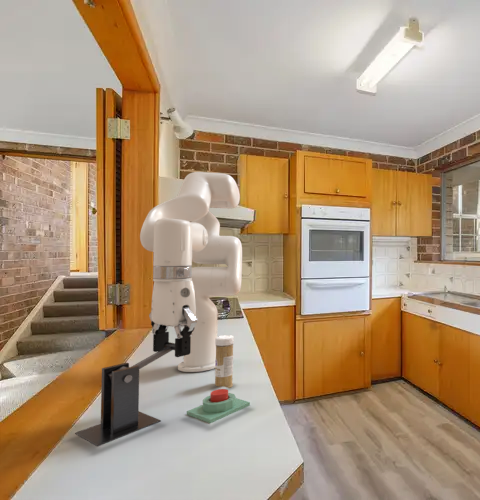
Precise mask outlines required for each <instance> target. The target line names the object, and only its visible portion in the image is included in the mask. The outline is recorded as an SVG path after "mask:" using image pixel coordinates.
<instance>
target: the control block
mask: <svg viewBox="0 0 480 500" xmlns="http://www.w3.org/2000/svg"><path fill="white" fill-rule="evenodd" d="M249 406H251V402H250V401H247V400H245V399H240V398H237V397H236V395H235V393H232V392H228V399H227V400H225V401H221V402H210V395H207V396H206V397H204V398H203V400H202V404H201V405H199V406H196V407H194V408H190V409H189V410H187V411H186V415H187V416H190V417H192V418H196V419H198V420H200V421H202V422H206V423H208V424H212V423H214V422H217V421H219V420H221V419H224V418H225V417H227V416H230V415H233V414H235V413H236V412H238V411H241V410H243V409H245V408H247V407H249Z"/></svg>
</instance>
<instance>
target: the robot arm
mask: <svg viewBox="0 0 480 500" xmlns="http://www.w3.org/2000/svg"><path fill="white" fill-rule="evenodd" d="M240 199H241V195H240V189H239V187H238V184H237V182H236V180H235V179H234V177H232V176H231V175H230V174H228V173H221V172H208V171H207V172H205V171H193V172H190V173H188V174H187V175H186V176H185V177H184V178H183V180H182V183H181V186H180V188H179V191H178V194H177V196H175V197H172V198H170V199H168V200H165V201H163V202H161V203H159V204H158V205H155V206H154V207H152V208H151V209H150V210H149V211H148V213H147V215H146V217H145V219H144V221H143V223H142V226H141V229H140V233H139V240H140V244H141V246H142V247H143V249H145V250H146V251H148V252H153V254H152V255H153V259H152V261H153V262H152V265H153V266H152V282H153V288H152V295H151V306H150V307H151V309H150V313H149V315H148V317H149V320H150V326H151V327H152V329H151V332H152V334H153V335H152V336H153V337H152V352H153V353H157V352H158V351H160V350H162V349H164V344H165V343H166V342H170V339H169V338H170V332H169V331H168V329H169V327H173V328H174V331H175V335H176V338H175V339H174V343H175V350H174V357H175V358H180V357H183V361H180V362H179V363H178V365H177V370H178V371H180V372H183V373H198V372H205V371H210V370H215V361H216V345H215V338H216V337H218V315H219V314H218V312H219V311H218V308H217V306H216V304H215V303H214V302H213V300H212V299H210V298H212V297H232V296H237V295H239V293H240V291H241V288H242V278H243V246H242V242H241V240H240V238H239V237H237V236H233V235H220V229H221V222H220V221H219V219H218V218H217V217H216V216H215V214H213V213H212V212H211V211H210V209H228V210H229V209H231V210H232V209H236V208H237V207H238V206H239V203H240ZM193 263H195V264H199V265H225V266H193Z"/></svg>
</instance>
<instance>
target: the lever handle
mask: <svg viewBox="0 0 480 500" xmlns="http://www.w3.org/2000/svg"><path fill="white" fill-rule="evenodd" d="M172 351H175V342H171V341H169V342H166V343H165V344H164V349H162V350H160V351H158V352H154V353H153V354H151V355H150V356H148V357H146V358H144V359H142V360H141V361H139V362H136V363H135V364H133V365H131V367H133V366H139V370H141V369H142V368H144V367H146V366H148V365H150V364H152V363H153V362H155V361H156V360H158V359H160V358H161V357H163V356H165V355H167V354H169V353H170V352H172ZM125 368H127V367H124V366H123V367H121V368H119V369H117V370H121V369H125ZM115 371H116V370H115ZM108 375H109V378H110V380H111V383H112V373H110V374H108Z"/></svg>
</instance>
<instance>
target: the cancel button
mask: <svg viewBox="0 0 480 500" xmlns="http://www.w3.org/2000/svg"><path fill="white" fill-rule="evenodd" d="M228 393H229V390H228V389H227V388H220V389H219V388H218V389H214V390H212V391H211V392H210V394H209V396H210V402H221V401H225V400H227V399H228Z"/></svg>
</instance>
